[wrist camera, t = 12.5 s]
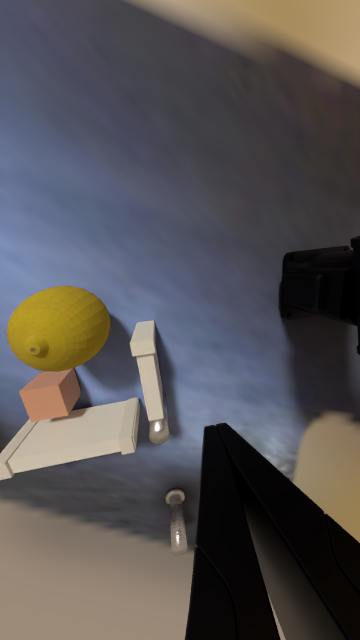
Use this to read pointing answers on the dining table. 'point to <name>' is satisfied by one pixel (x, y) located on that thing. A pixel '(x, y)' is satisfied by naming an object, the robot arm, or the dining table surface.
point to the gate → (72, 437)
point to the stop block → (51, 394)
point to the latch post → (177, 520)
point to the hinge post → (160, 426)
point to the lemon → (58, 328)
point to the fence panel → (148, 367)
